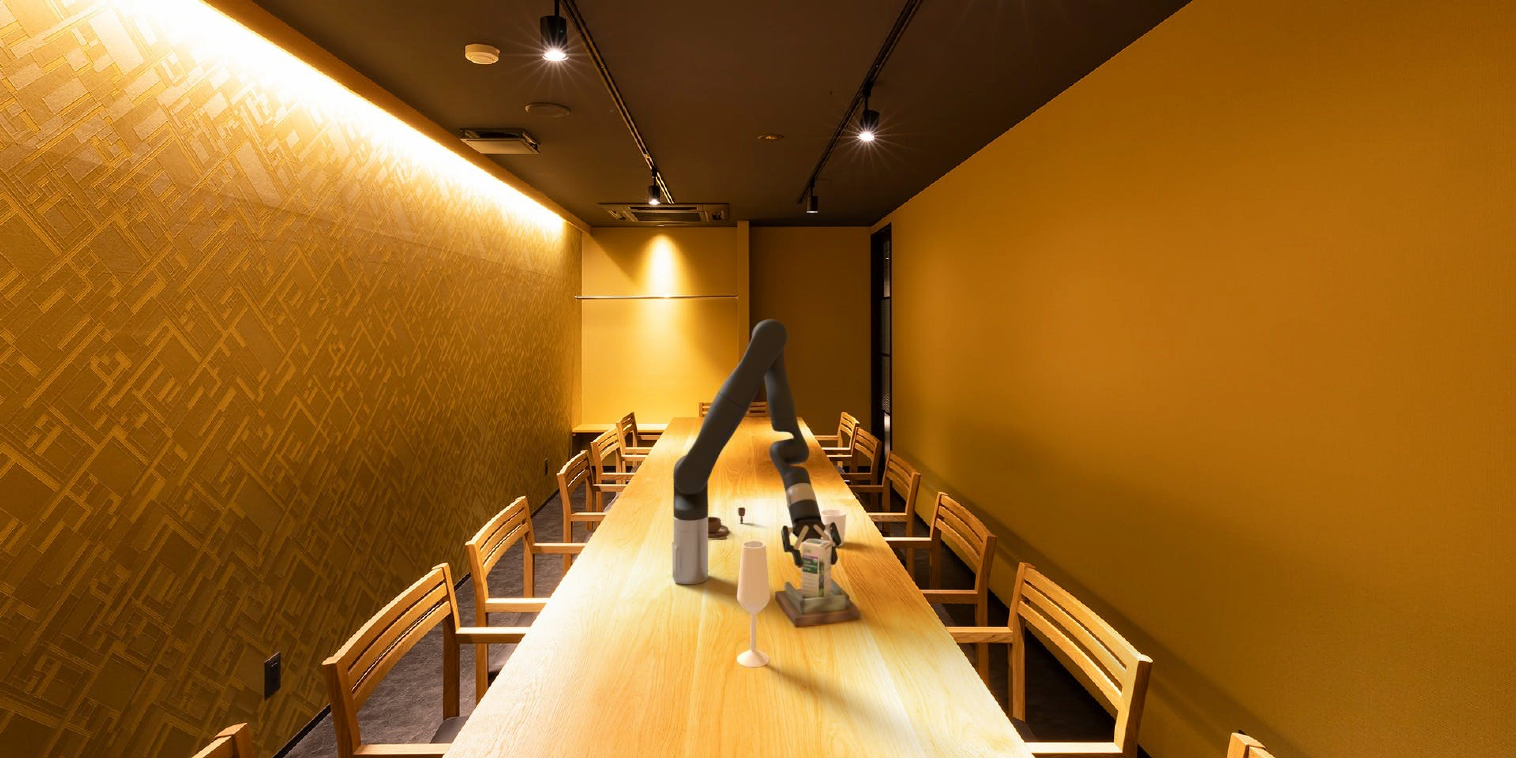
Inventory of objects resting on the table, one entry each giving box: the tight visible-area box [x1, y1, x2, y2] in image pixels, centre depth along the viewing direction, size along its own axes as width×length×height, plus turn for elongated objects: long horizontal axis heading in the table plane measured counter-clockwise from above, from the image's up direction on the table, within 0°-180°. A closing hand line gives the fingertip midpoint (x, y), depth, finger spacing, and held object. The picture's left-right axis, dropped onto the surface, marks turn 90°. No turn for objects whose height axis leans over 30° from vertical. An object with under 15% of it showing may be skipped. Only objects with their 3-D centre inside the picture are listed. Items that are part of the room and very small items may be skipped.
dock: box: [774, 577, 862, 628], centre depth 163 cm, size 16×16×5 cm
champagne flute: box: [736, 540, 771, 668], centre depth 137 cm, size 7×7×24 cm
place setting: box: [708, 506, 746, 541], centre depth 224 cm, size 18×20×6 cm
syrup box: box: [800, 539, 832, 599], centre depth 162 cm, size 6×6×14 cm
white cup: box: [820, 508, 847, 547], centre depth 212 cm, size 8×8×10 cm
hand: (817, 565), depth 161 cm, fingers open, 8 cm apart
